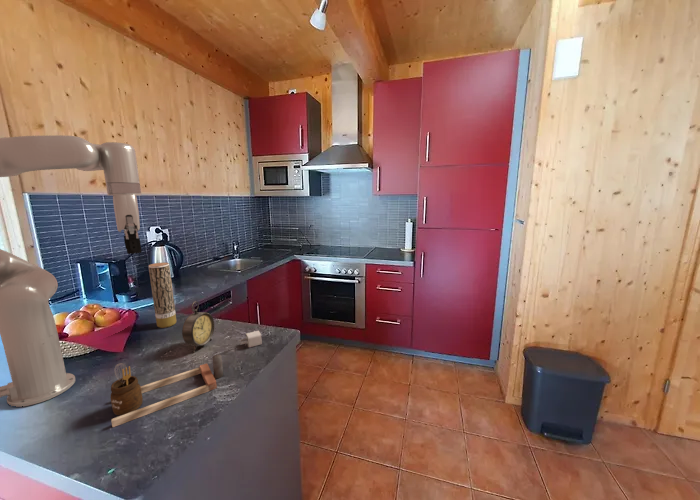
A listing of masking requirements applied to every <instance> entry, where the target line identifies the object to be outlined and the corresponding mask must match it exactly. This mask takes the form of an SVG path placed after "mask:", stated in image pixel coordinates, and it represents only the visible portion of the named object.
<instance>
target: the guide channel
mask: <svg viewBox="0 0 700 500" xmlns="http://www.w3.org/2000/svg"><path fill="white" fill-rule="evenodd" d="M222 358H223V357H222V354H214V355H213V356H212V358H211V359H212V369H213V372H212V370H211V368H210V365H209V364H208V363H203V364H200V365H199V367H195V368H193V369H190V370H187V371H186V370H185V371H184V372H181V373H177V374H175V375H171V376H168V377H166V378H165V377H164V378H163V379H160V380H156V381H152V382H149V383H147V384H144V385H142V386H141V385H140V387H141V392H142V394H144V393H148V392H150V391H153V390H156V389H159V388H162V387H165V386H168V385H172V384H173V383H177V382H180V381H183V380H186V379H188V378H192V377H194V376H198V375H200V374H201V376H202V379H203V381H204V385H201V386H199V387H196V388H194V389H190V390H188V391H186V392H181V393H179V394H177V395H174V396H172V397H168V398H166V399H164V400H161V401H158V402H155V403H152V404H149V405H147V406H144V407H141V408H138V409H137V410H135V411H132V412H130V413H127V414H124V415H118V416H116V417H114V418H111V422H110V423H111V426H112V428H116V427H117V426H120V425H121V426H122V425H123V424H126V423H128V422H131V421H134V420H137V419H138V418H141V417H145V416H146V415H149V414H152V413H155V412H158V411H161V410H163V409H165V408H167V407H170V406H173V405H176V404H179V403H181V402H184V401H186V400H189V399H192V398H196V397H198V396H200V395H203V394H205V393H208V392H211V391H212V390H215V389H217V388H218V385H217V380H216V379H221V378H222V377H223V376H224V369H223V359H222Z"/></svg>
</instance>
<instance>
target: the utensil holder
mask: <svg viewBox="0 0 700 500" xmlns="http://www.w3.org/2000/svg"><path fill="white" fill-rule="evenodd" d="M122 365H123V366H122ZM119 366H120V368H121V371H120V369H119ZM116 369H117V370H116ZM118 370H119V371H118ZM114 372H122V374H121V373H120V376H119V374H118V373H114V374H115V376H117V380H115V381H114V382H113V383H112V384H111V386H110V391H111V392H110V405H111V408H112V413H113V414H114V415H115V416H121V415H124V414H127V413H130V412H132V411H135V410H138V409H140V407H141V406H142V405H143V402H144V401H143V393H142V392H141V387H140V386H141V385H140V383H139V380H138V377H136V376H135V375H131V366H128V368H127V366H126V364H124V363H123V362H122V363H119V364H116V365H115V368H114Z"/></svg>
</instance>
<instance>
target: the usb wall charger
mask: <svg viewBox="0 0 700 500" xmlns="http://www.w3.org/2000/svg"><path fill="white" fill-rule="evenodd" d="M238 342H239V344H240V345H245V344H246V345H247V347H248V348H252V347H253V348H254V347H257V346H260V345H262V344H263V341H262V333H261V332H260V330H255V331H251V332H247V333H245V338H242V339H239V340H238Z"/></svg>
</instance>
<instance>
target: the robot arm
mask: <svg viewBox="0 0 700 500" xmlns="http://www.w3.org/2000/svg"><path fill="white" fill-rule="evenodd" d="M135 149H136V148H135V147H134V146H133V145H131V144H128V143H123V142H114V141H113V142H111V141H108V142H102V143H101V144H96V143H92V142H90V141H89V140H87V139H86V138H83V137H81V136H75V135H20V136H19V135H18V136H11V137H10V136H9V137H8V136H7V137H6V136H5V137H0V178H7V177H8V178H9V177H10V178H11V177H17V176H19V175H21V174H24V173H28V172H29V173H30V172H35V171H36V172H37V171H46V170H48V171H49V170H64V169H65V170H68V169H69V170H70V169H73V170H75V169H76V170H79V171H82V172H92V171H93V172H94V171H103V174H104V181H105V187H106V192H107V193H106V194H107V196H112V202H113V210H114V216H115V222H116V223H115V224H116V227H117V232H119V233H122V231H123V233H124V235H123V242H124V245H125V246H124V247H125V249H126V253H127V254H128V255H134V254H141V253H142V251H143V250H142V245H141V238H140V237H139V232H138V231H140V230H141V228H140V226H141V225H140V211H139V204H138V198H137V196H142V190H141V189H142V188H141V182H140V177H139V176H140V175H139V170H138V160H137V155H136V150H135ZM58 286H59V285H58V281H57V278H56V277H55V275H53V273H51V272H50V271H48V270H46V269H44V268H42V267H40V266H38V265H36V264H34V263H32V262H29V261H28V260H26V259H23V258H21V257H19V256H17V255H15V254H13V253H11V252H8V251H6V250H3V249H1V248H0V339H1V343H2V346H3V349H4V353H5V358H6V363H7V366H8V370H9V374H10V378H11V382H7V383H6V384H5V385H2V386H0V398H2V397H6V396H7V397H6V402H7V405H8V404H9V405H11V406H10V407H12V406H16V407H17V408H18V407H19V408H23V407H30V406H33V405H36V404H40V403H43V402H46V401H49V400H51V399H53V398H55V397H58V396H59V395H61V394H63V393H65V392H66V391H68V390H69V389H70V388H71V387H72V386H73V385H74V384H75V383H76V376H75V375H74V374H73V373H69V372H66V367H65V362H64V357H63V353H62V352H63V351H62V348H61V343H60V339H59V338H60V337H59V333H58V329H57V324H56V321H55V317H54V314H53V312H52V310H51V307H50V304H49V303H50V302H49V301H50V299H51V298H52V297H53V296H54V295H55V294H56V292H57V291H58ZM9 405H8V406H9ZM22 406H23V407H22ZM16 407H15V408H16Z"/></svg>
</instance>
